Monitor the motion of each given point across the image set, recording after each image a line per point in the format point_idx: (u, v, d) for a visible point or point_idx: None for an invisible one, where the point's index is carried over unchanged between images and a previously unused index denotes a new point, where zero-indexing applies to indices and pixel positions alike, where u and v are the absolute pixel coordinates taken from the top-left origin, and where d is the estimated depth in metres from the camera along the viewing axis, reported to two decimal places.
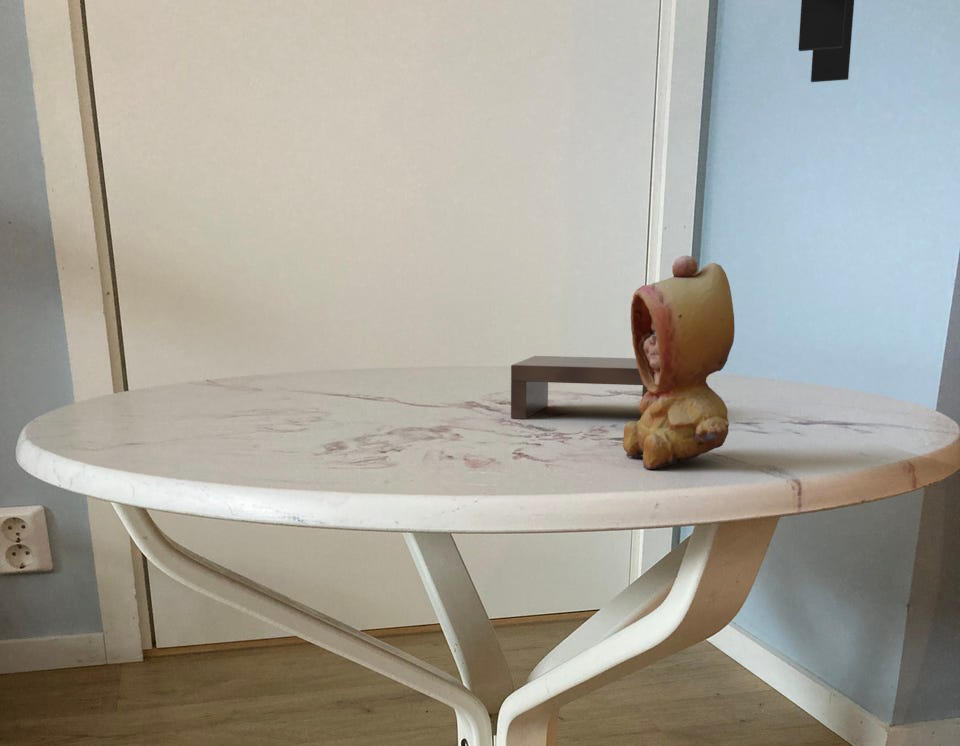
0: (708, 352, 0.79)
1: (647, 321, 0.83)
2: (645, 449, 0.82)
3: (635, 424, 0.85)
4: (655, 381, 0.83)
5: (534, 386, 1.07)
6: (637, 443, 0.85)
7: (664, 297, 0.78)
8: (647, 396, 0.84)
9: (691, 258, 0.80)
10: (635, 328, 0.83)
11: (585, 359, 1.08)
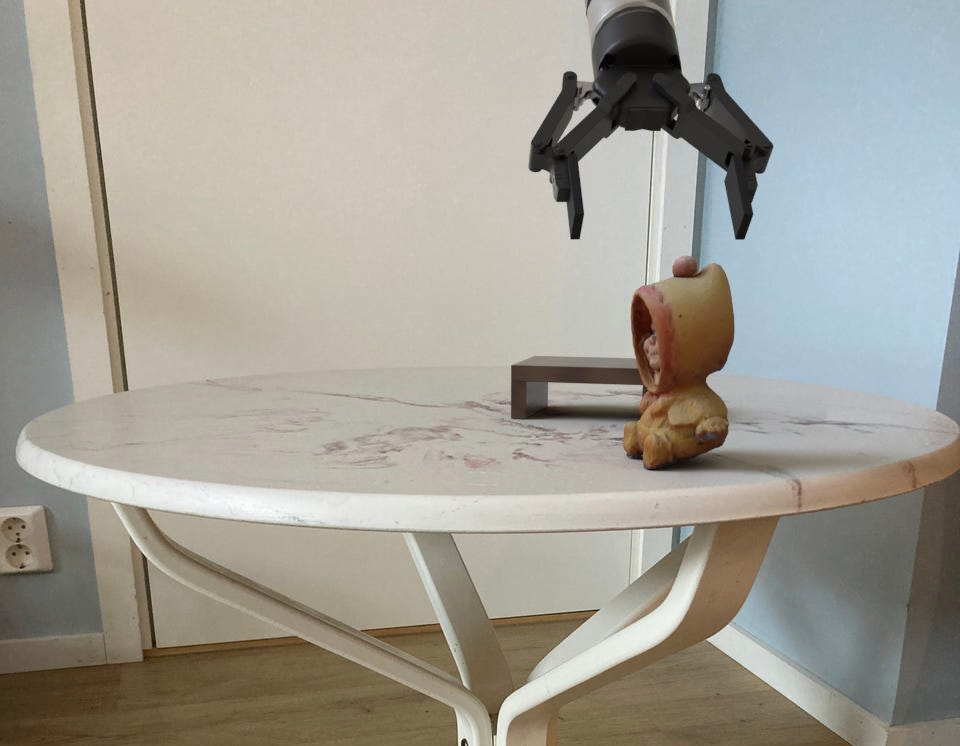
0: (708, 352, 0.79)
1: (647, 321, 0.83)
2: (645, 449, 0.82)
3: (635, 424, 0.85)
4: (655, 381, 0.83)
5: (534, 386, 1.07)
6: (637, 443, 0.85)
7: (664, 297, 0.78)
8: (647, 396, 0.84)
9: (691, 258, 0.80)
10: (635, 328, 0.83)
11: (585, 359, 1.08)
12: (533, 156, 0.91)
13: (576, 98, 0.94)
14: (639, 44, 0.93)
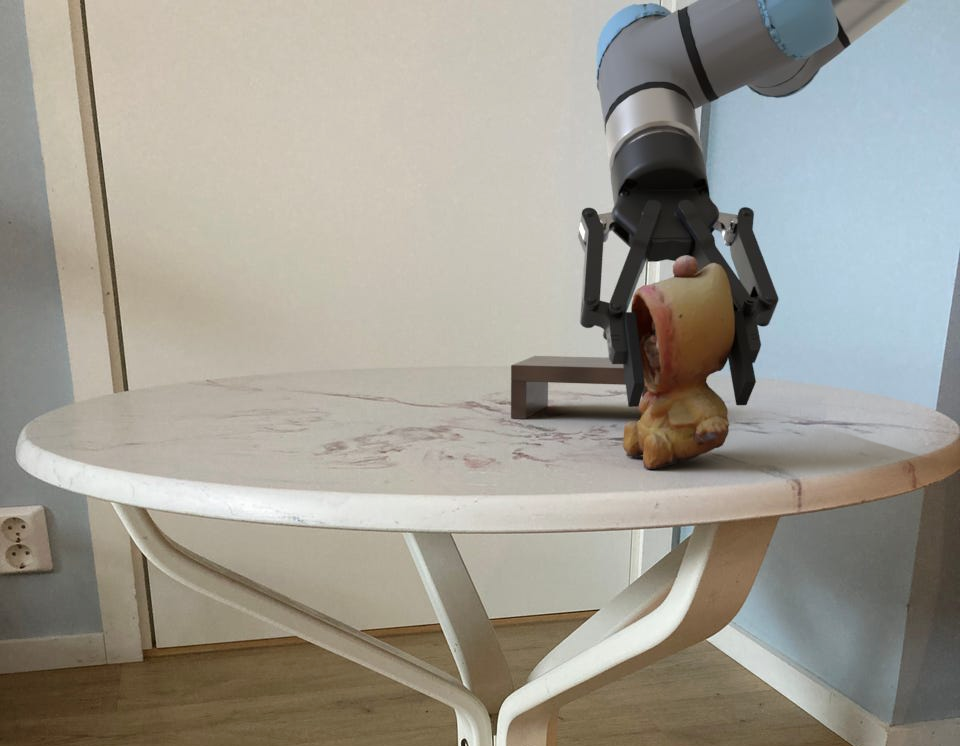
0: (708, 352, 0.79)
1: (647, 321, 0.83)
2: (645, 449, 0.82)
3: (635, 424, 0.85)
4: (655, 381, 0.83)
5: (534, 386, 1.07)
6: (637, 443, 0.85)
7: (665, 297, 0.78)
8: (647, 396, 0.84)
9: (692, 258, 0.80)
10: None
11: (585, 359, 1.08)
12: (589, 313, 0.82)
13: None
14: (663, 169, 0.85)
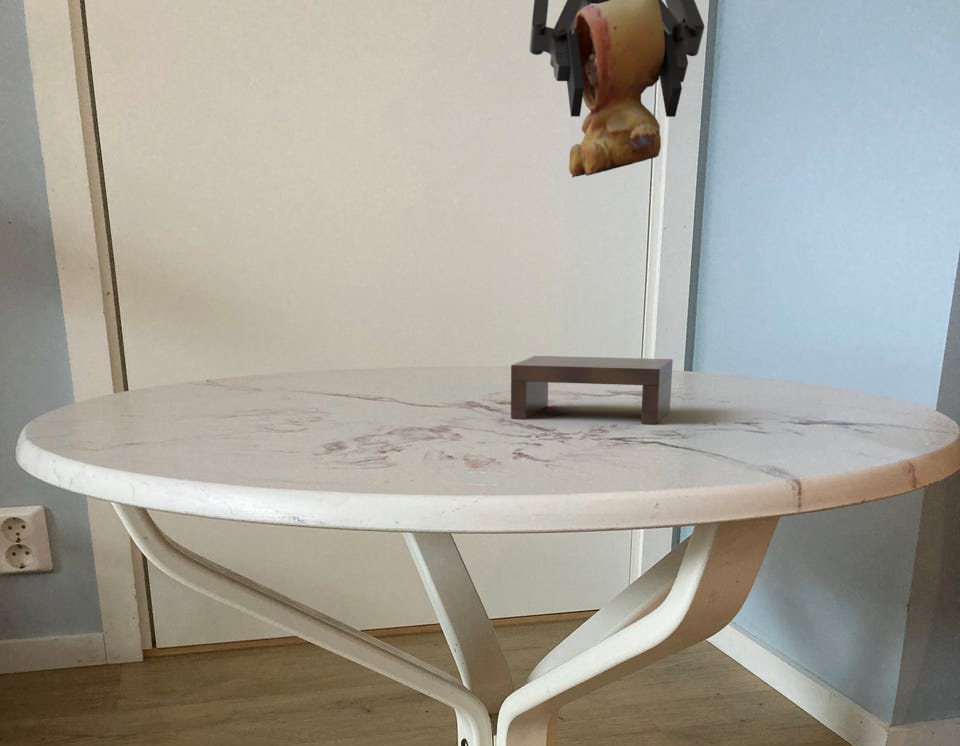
0: (640, 63, 0.90)
1: (588, 47, 0.94)
2: (586, 157, 0.93)
3: (579, 145, 0.96)
4: (596, 100, 0.94)
5: (534, 386, 1.07)
6: (581, 162, 0.96)
7: (601, 12, 0.89)
8: (589, 116, 0.94)
9: None
10: None
11: (585, 359, 1.08)
12: (537, 38, 0.93)
13: None
14: None
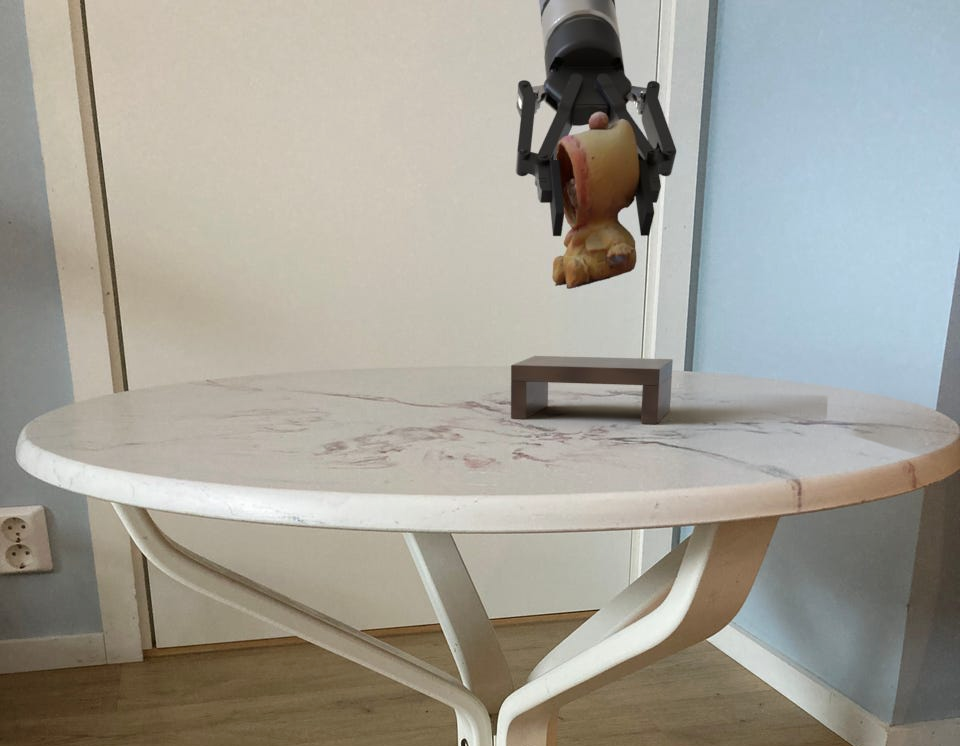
0: (616, 189, 0.98)
1: (570, 169, 1.02)
2: (567, 272, 1.01)
3: (562, 257, 1.04)
4: (576, 218, 1.02)
5: (534, 386, 1.07)
6: (563, 273, 1.04)
7: (580, 143, 0.97)
8: (570, 232, 1.03)
9: (603, 113, 0.98)
10: None
11: (585, 359, 1.08)
12: (522, 162, 1.01)
13: (535, 102, 1.04)
14: (584, 47, 1.04)
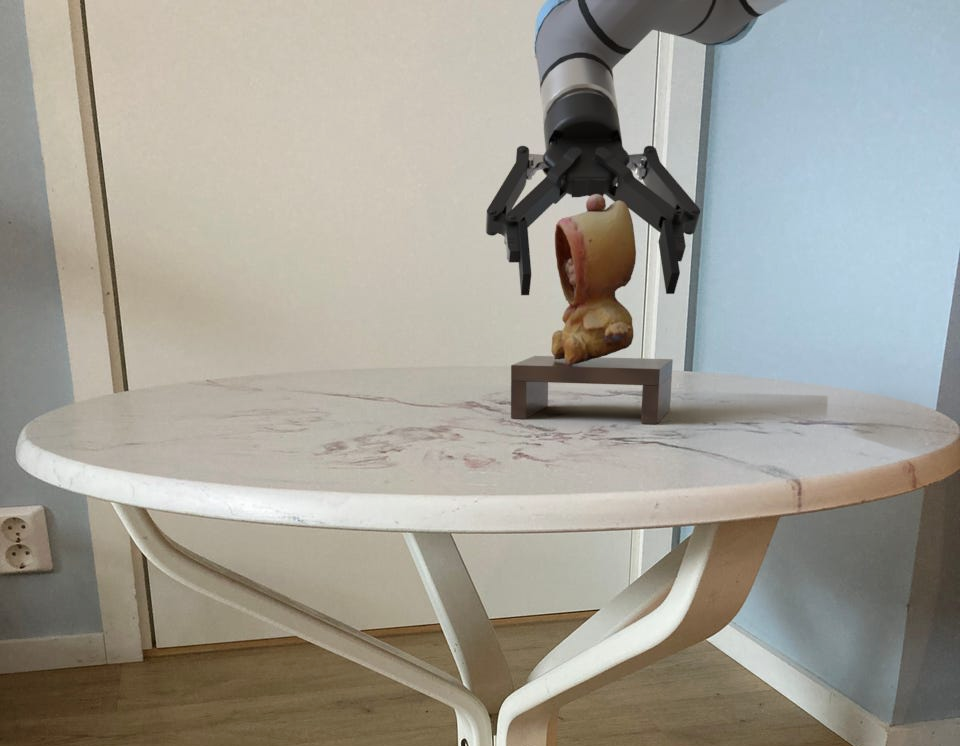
0: (613, 270, 1.00)
1: (568, 248, 1.04)
2: (566, 349, 1.03)
3: (560, 332, 1.07)
4: (574, 296, 1.04)
5: (534, 386, 1.07)
6: (562, 347, 1.06)
7: (578, 225, 1.00)
8: (569, 309, 1.05)
9: (600, 196, 1.01)
10: (559, 254, 1.04)
11: None
12: (489, 222, 1.04)
13: (528, 169, 1.07)
14: (583, 122, 1.06)
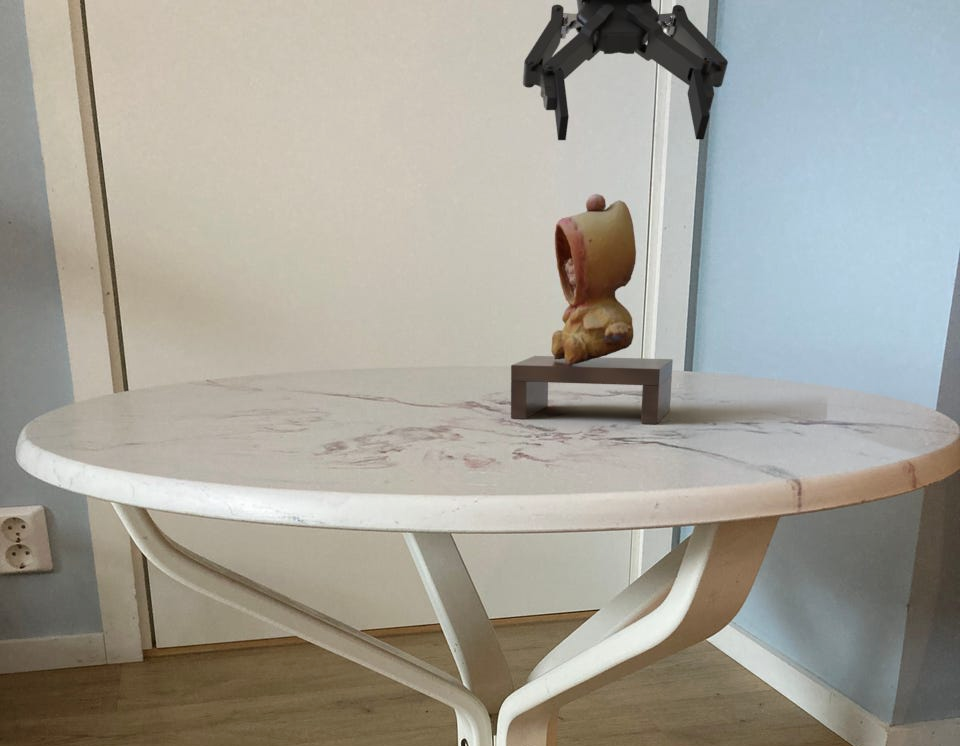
0: (613, 270, 1.00)
1: (568, 248, 1.04)
2: (566, 349, 1.03)
3: (560, 332, 1.07)
4: (574, 296, 1.04)
5: (534, 386, 1.07)
6: (562, 347, 1.06)
7: (578, 225, 1.00)
8: (569, 309, 1.05)
9: (600, 196, 1.01)
10: (559, 254, 1.04)
11: None
12: (527, 73, 1.09)
13: (563, 27, 1.12)
14: None
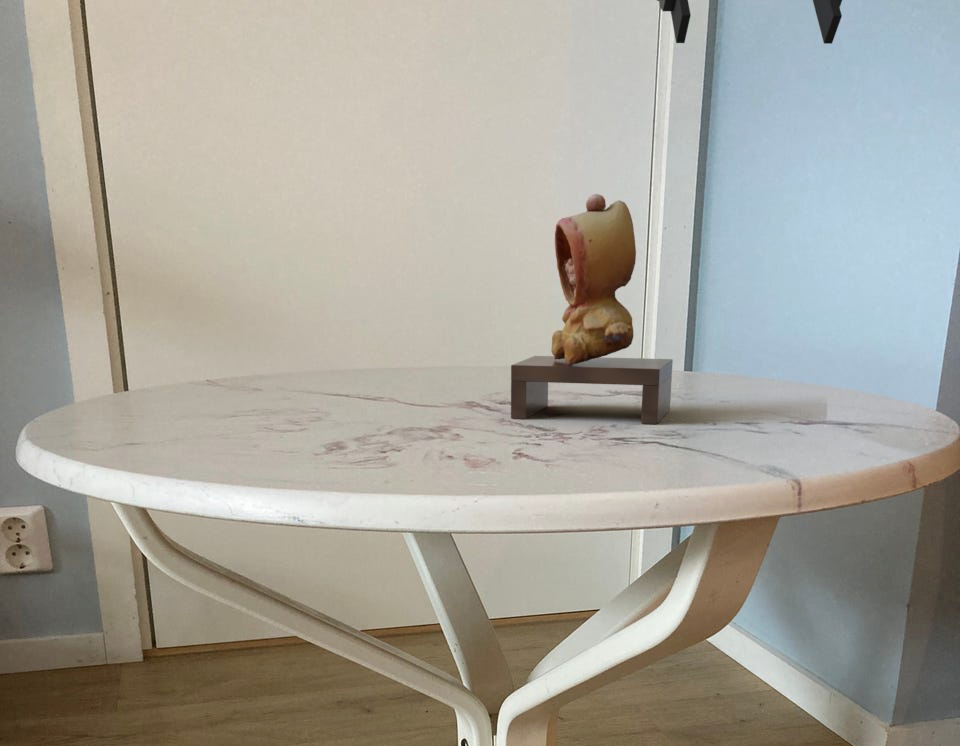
0: (613, 270, 1.00)
1: (568, 248, 1.04)
2: (566, 349, 1.03)
3: (560, 332, 1.07)
4: (574, 296, 1.04)
5: (534, 386, 1.07)
6: (562, 347, 1.06)
7: (578, 225, 1.00)
8: (569, 309, 1.05)
9: (600, 196, 1.01)
10: (559, 254, 1.04)
11: None
12: None
13: None
14: None
